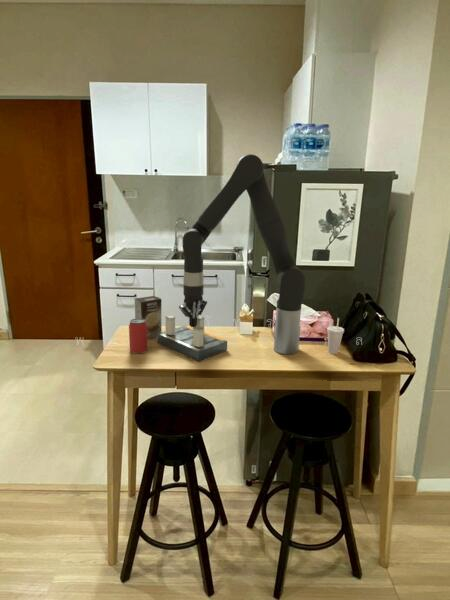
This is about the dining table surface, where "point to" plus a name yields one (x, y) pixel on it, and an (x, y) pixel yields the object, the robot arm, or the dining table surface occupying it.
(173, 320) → the handle
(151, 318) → the coffee box
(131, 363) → the dining table surface
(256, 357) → the dining table surface
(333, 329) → the smoothie
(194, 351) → the panel
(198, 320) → the handle
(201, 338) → the handle
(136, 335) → the beer can
